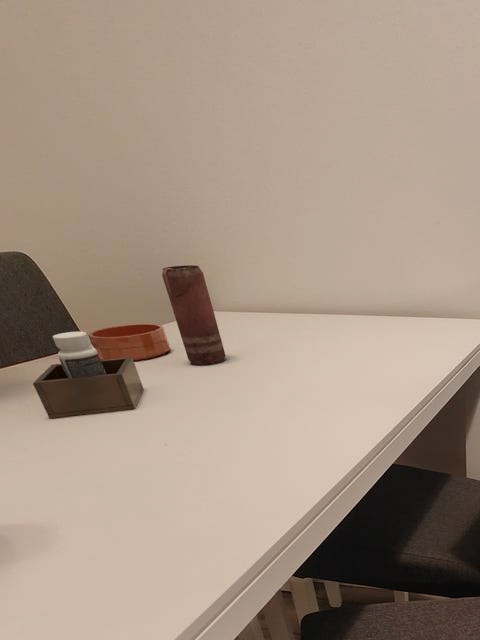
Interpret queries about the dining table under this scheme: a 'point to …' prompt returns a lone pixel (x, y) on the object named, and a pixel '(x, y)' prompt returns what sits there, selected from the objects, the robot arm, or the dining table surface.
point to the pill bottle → (78, 355)
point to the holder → (90, 389)
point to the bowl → (130, 341)
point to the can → (194, 314)
